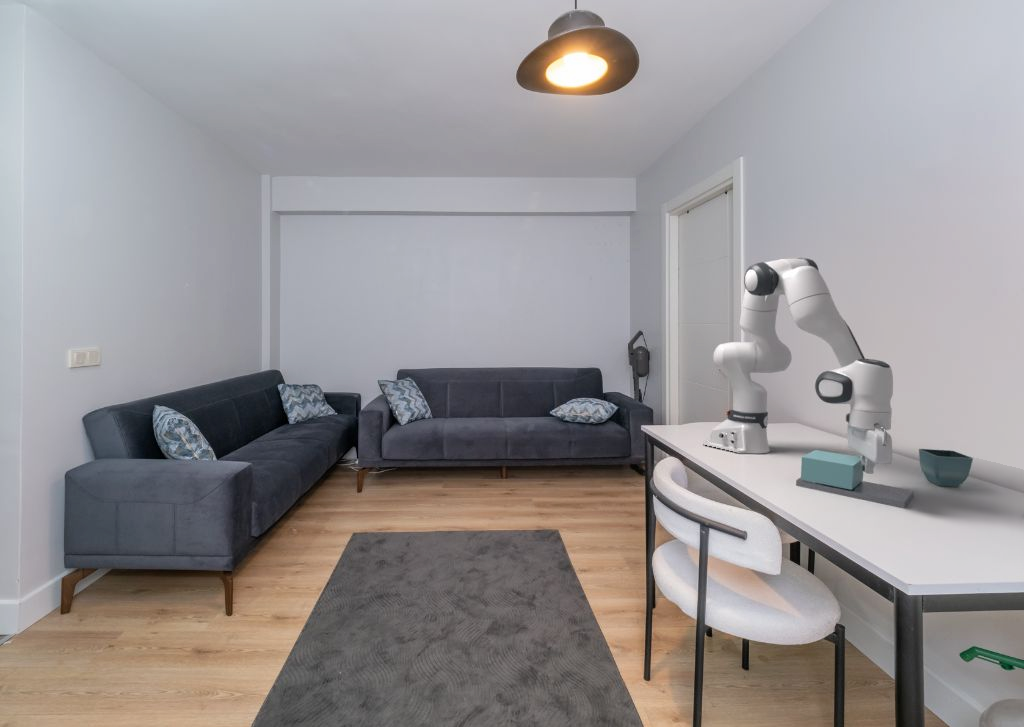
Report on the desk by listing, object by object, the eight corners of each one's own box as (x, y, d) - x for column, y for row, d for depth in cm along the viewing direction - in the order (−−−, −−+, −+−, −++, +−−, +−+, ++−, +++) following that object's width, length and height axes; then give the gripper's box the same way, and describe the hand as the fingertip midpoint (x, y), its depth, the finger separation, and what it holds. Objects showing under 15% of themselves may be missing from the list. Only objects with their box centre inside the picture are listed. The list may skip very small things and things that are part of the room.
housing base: (796, 485, 138) (796, 464, 138) (810, 476, 147) (811, 456, 147) (904, 508, 121) (905, 484, 120) (913, 496, 130) (914, 473, 129)
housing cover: (800, 479, 138) (801, 456, 137) (814, 471, 146) (815, 449, 146) (851, 489, 129) (853, 465, 129) (862, 480, 137) (864, 457, 137)
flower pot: (972, 490, 135) (974, 457, 134) (935, 487, 137) (937, 456, 136) (950, 480, 144) (952, 450, 143) (915, 478, 145) (917, 448, 145)
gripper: (901, 428, 120) (898, 485, 120) (869, 415, 139) (866, 463, 140) (871, 427, 121) (868, 482, 122) (843, 414, 141) (841, 461, 142)
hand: (867, 472), depth 131 cm, fingers closed
